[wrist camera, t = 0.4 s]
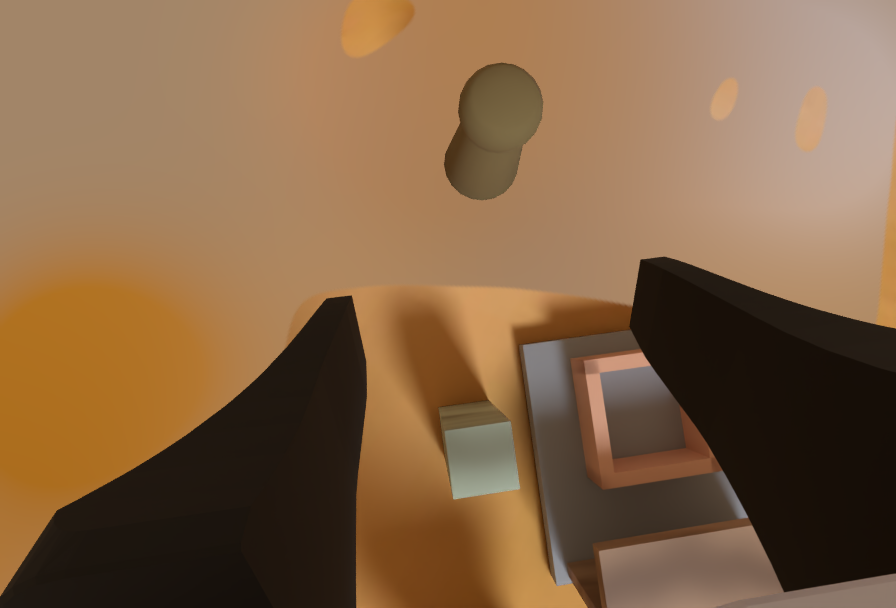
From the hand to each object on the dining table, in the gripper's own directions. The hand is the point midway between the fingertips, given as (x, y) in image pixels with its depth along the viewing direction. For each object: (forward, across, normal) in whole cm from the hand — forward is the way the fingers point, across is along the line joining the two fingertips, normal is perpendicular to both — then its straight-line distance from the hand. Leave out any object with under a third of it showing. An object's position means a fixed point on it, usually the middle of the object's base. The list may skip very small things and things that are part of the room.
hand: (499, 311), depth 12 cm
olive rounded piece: (+28, -4, +5) cm, 29 cm away
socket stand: (+14, -13, +24) cm, 31 cm away
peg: (+16, 0, +22) cm, 27 cm away
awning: (+10, -13, +28) cm, 32 cm away
